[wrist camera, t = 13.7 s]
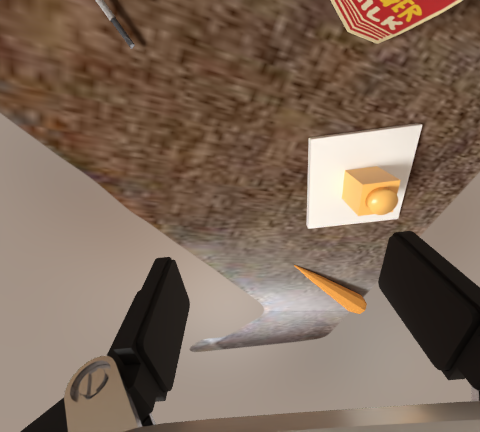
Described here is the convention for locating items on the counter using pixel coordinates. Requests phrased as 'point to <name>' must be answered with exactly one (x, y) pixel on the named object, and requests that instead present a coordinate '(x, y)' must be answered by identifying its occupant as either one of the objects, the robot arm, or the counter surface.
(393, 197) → the gold domed block
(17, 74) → the counter surface
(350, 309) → the carrot
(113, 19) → the screwdriver
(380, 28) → the milk carton
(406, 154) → the white plate
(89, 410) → the robot arm
